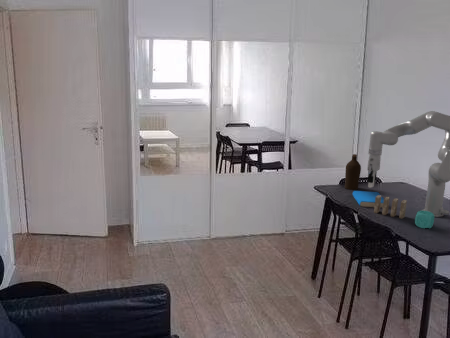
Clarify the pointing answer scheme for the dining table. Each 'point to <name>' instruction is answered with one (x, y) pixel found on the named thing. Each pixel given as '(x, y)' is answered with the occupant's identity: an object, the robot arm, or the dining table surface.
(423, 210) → the robot arm
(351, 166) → the olive oil
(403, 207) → the domino
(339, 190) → the dining table surface
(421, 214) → the decorative dice
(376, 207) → the domino
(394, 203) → the domino
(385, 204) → the domino
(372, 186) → the end domino
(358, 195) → the book
